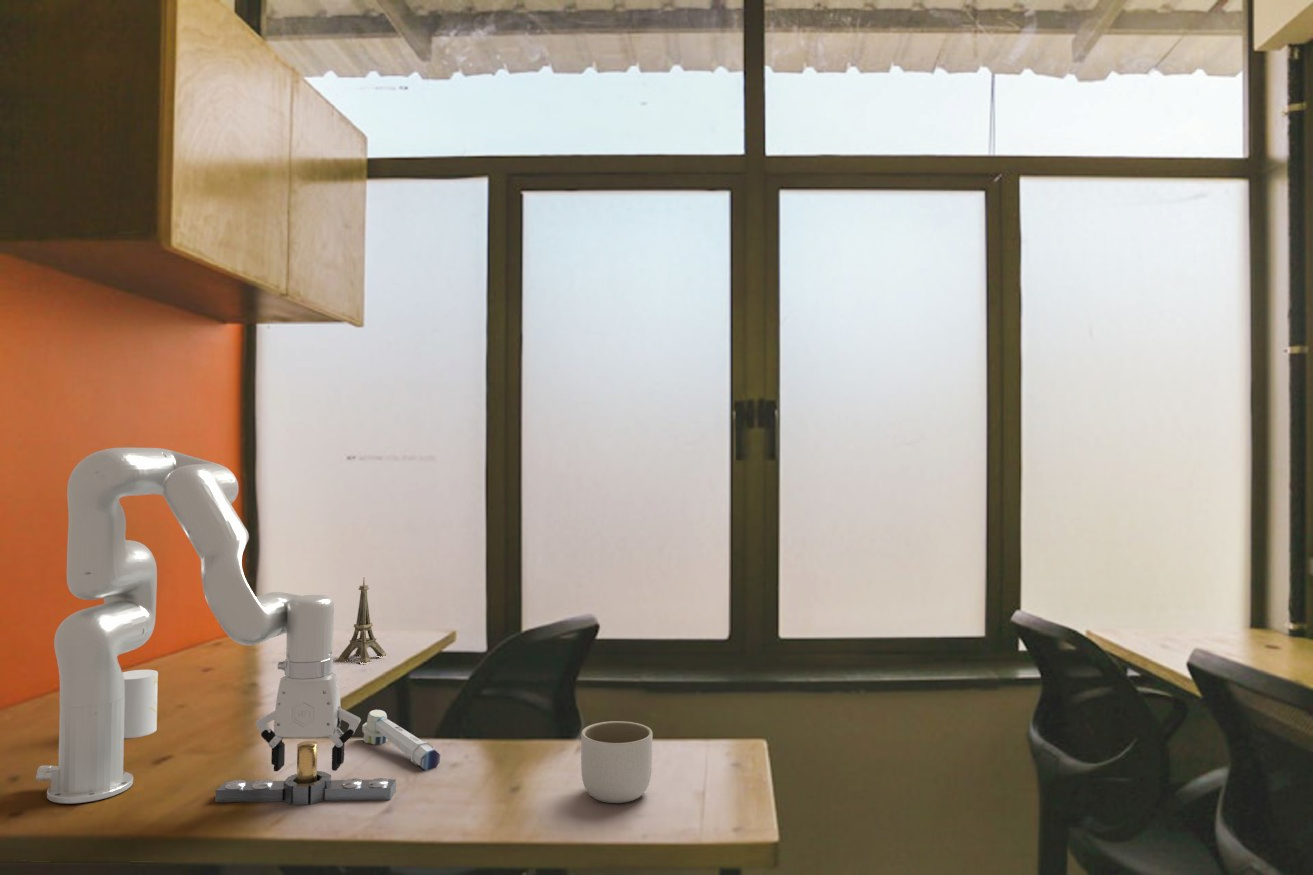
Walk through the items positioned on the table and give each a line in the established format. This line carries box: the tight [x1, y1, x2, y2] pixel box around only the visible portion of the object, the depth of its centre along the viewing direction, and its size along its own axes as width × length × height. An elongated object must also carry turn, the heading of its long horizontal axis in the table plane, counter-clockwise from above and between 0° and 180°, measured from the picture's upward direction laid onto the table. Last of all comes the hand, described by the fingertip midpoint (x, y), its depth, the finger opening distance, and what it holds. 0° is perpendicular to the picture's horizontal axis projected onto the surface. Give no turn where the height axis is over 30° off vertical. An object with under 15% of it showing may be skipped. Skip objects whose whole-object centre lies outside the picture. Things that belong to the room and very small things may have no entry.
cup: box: [122, 669, 159, 739], centre depth 184 cm, size 8×8×12 cm
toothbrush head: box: [361, 709, 441, 771], centre depth 174 cm, size 5×7×25 cm
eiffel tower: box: [334, 578, 387, 663], centre depth 250 cm, size 11×11×25 cm
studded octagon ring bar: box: [214, 770, 397, 806], centre depth 151 cm, size 29×7×3 cm, turn 94°
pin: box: [296, 740, 318, 784], centre depth 151 cm, size 3×3×9 cm
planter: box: [580, 720, 654, 804], centre depth 154 cm, size 12×12×11 cm
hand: (307, 768), depth 151 cm, fingers open, 9 cm apart
